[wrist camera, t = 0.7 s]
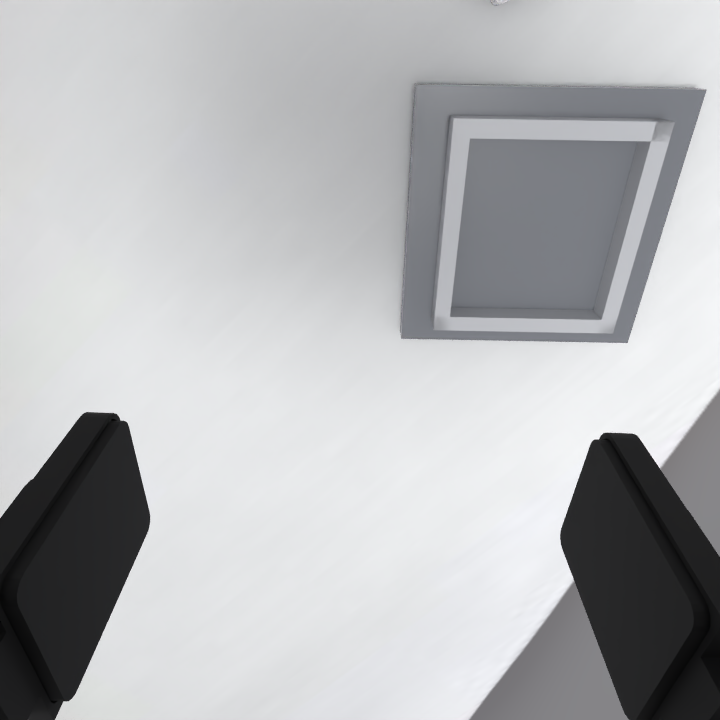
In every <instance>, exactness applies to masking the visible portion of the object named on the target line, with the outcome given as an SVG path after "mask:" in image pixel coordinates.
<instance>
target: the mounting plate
mask: <svg viewBox="0 0 720 720" xmlns="http://www.w3.org/2000/svg"><path fill="white" fill-rule="evenodd" d="M705 93H706V90H705V89H698V88H659V87H596V86H534V85H472V84H415V95H414V112H413V128H412V145H411V162H410V179H409V196H408V213H407V229H406V246H405V263H404V280H403V297H402V313H401V330H400V331H401V339H452V340H504V341H556V342H608V343H628V339H629V336H630V333H631V330H632V327H633V323H634V320H635V317H636V314H637V311H638V307H639V304H640V301H641V298H642V295H643V291H644V288H645V285H646V282H647V279H648V275H649V272H650V269H651V266H652V263H653V259H654V256H655V253H656V250H657V247H658V243H659V240H660V237H661V234H662V231H663V227H664V224H665V221H666V218H667V215H668V211H669V208H670V205H671V202H672V199H673V195H674V192H675V189H676V186H677V183H678V179H679V176H680V173H681V170H682V167H683V163H684V160H685V157H686V154H687V151H688V147H689V144H690V141H691V138H692V135H693V131H694V128H695V125H696V122H697V119H698V115H699V112H700V109H701V106H702V103H703V99H704V96H705Z"/></svg>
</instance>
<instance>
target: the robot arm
mask: <svg viewBox="0 0 720 720" xmlns="http://www.w3.org/2000/svg"><path fill="white" fill-rule="evenodd" d="M149 525H150V512H149V508H148V504H147V500H146V496H145V492H144V488H143V484H142V479H141V475H140V471H139V467H138V463H137V459H136V455H135V450H134V446H133V442H132V438H131V434H130V430H129V426H128V423H127V422H126V421H120V418H119V416H118V415H117V414H114V413H94V412H86V413H84V414H83V415H82V416H80V418H79V419H78V420H77V422H76V423H75V424H74V426H73V427H72V428H71V430H70V431H69V432H68V434H67V435H66V436H65V438H64V439H63V440H62V442H61V443H60V444H59V445H58V447H57V448H56V449H55V451H54V452H53V453H52V455H51V456H50V457H49V459H48V460H47V461H46V463H45V464H44V465H43V467H42V468H41V469H40V471H39V472H38V473H37V475H36V476H35V477H34V479H32V480H30V481H29V482H28V484H27V485H26V486H25V487H24V488H23V489H22V490H21V492H20V493H19V494H18V496H17V497H16V498H15V500H14V501H13V502H12V504H11V505H10V506H9V507H8V509H7V510H6V511H5V513H4V514H3V515H2V517H1V518H0V720H55V718H56V716H57V714H58V712H59V710H60V707H61V705H62V703H63V701H69V700H71V699H72V698H73V696H74V695H75V693H76V691H77V689H78V687H79V685H80V683H81V681H82V678H83V676H84V674H85V672H86V669H87V667H88V665H89V663H90V660H91V658H92V656H93V654H94V651H95V649H96V647H97V645H98V642H99V640H100V638H101V636H102V633H103V631H104V629H105V627H106V624H107V622H108V620H109V618H110V615H111V613H112V611H113V609H114V606H115V604H116V602H117V600H118V597H119V595H120V593H121V591H122V588H123V586H124V584H125V582H126V579H127V577H128V575H129V573H130V570H131V568H132V566H133V564H134V561H135V559H136V557H137V555H138V553H139V550H140V548H141V546H142V544H143V541H144V539H145V537H146V535H147V532H148V529H149ZM560 539H561V546H562V549H563V552H564V554H565V557H566V560H567V562H568V565H569V568H570V570H571V573H572V576H573V578H574V581H575V583H576V586H577V589H578V592H579V594H580V597H581V600H582V602H583V605H584V607H585V610H586V613H587V615H588V618H589V621H590V623H591V626H592V629H593V631H594V634H595V637H596V639H597V642H598V645H599V647H600V650H601V653H602V655H603V658H604V661H605V663H606V666H607V668H608V671H609V674H610V676H611V679H612V682H613V684H614V687H615V690H616V692H617V695H618V698H619V700H620V703H621V706H622V708H623V710H624V713H625V715H626V716H627V717H628V719H629V720H720V557H719V555H718V554H717V552H716V551H715V550H714V548H713V547H712V545H711V544H710V542H709V540H708V539H707V537H706V536H705V535H704V533H703V532H702V530H701V529H700V527H699V526H698V524H697V523H696V521H695V520H694V518H693V517H692V515H691V514H690V512H689V511H688V510H687V509H686V507H685V506H684V504H683V503H682V501H681V500H680V498H679V497H678V495H677V494H676V492H675V491H674V489H673V488H672V486H671V485H670V484H669V482H668V480H667V479H666V477H665V476H664V474H663V473H662V471H661V470H660V468H659V467H658V465H657V464H656V462H655V461H654V459H653V458H652V456H651V455H650V453H649V452H648V451H647V449H646V448H645V446H644V445H643V443H642V442H641V440H640V439H639V438H638V436H637V435H635V434H626V433H603V434H602V435H601V437H600V439H599V440H593V441H592V443H591V445H590V448H589V451H588V453H587V456H586V459H585V462H584V465H583V468H582V471H581V474H580V476H579V479H578V482H577V485H576V488H575V491H574V494H573V497H572V500H571V502H570V505H569V508H568V511H567V514H566V517H565V520H564V523H563V525H562V528H561V534H560Z"/></svg>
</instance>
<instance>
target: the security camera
mask: <svg viewBox="0 0 720 720" xmlns="http://www.w3.org/2000/svg"><path fill="white" fill-rule="evenodd" d="M507 1H509V0H491V3H492V4H493V5H499V4H502V3H505V2H507Z"/></svg>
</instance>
